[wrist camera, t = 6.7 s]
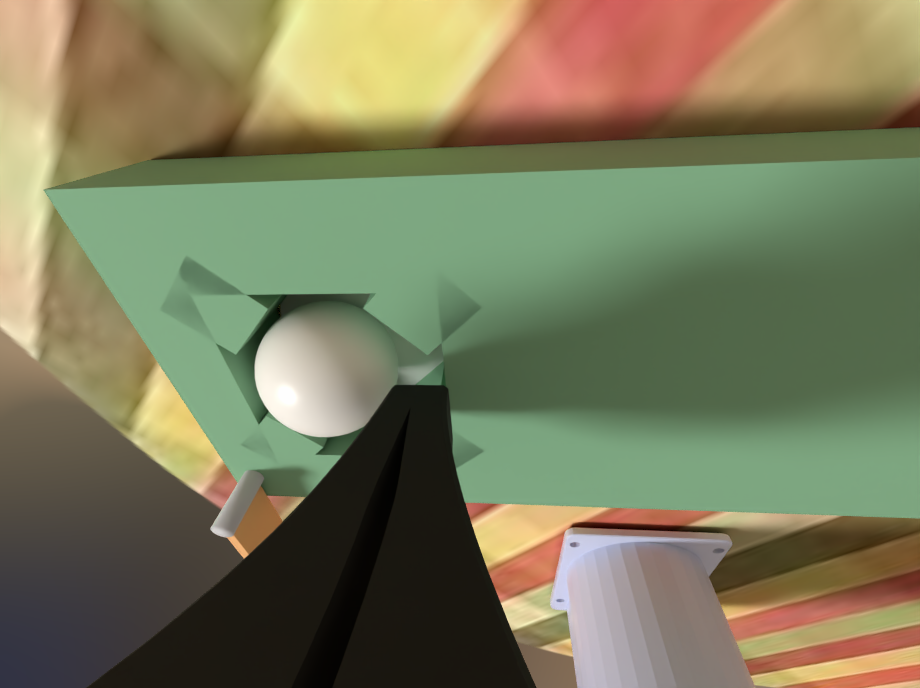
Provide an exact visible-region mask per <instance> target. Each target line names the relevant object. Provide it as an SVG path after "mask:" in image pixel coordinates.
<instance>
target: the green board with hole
mask: <svg viewBox="0 0 920 688" xmlns="http://www.w3.org/2000/svg"><path fill="white" fill-rule="evenodd" d="M44 191H45V193H46V194H47V196H48V197H49V199H50V200H51V202H52V203H53V205H54V206H55V208H56V209H57V211H58V212H59V214H60V215H61V217H62V218H63V220H64V221H65V223H66V224H67V226H68V228H69V229H70V231H71V232H72V234H73V235H74V237H75V238H76V240H77V241H78V243H79V244H80V246H81V247H82V249H83V250H84V252H85V253H86V255H87V256H88V258H89V259H90V261H91V262H92V264H93V265H94V267H95V268H96V270H97V271H98V273H99V274H100V276H101V277H102V279H103V280H104V282H105V283H106V285H107V286H108V288H109V289H110V291H111V292H112V294H113V295H114V297H115V298H116V300H117V301H118V303H119V304H120V306H121V307H122V309H123V311H124V312H125V314H126V315H127V317H128V318H129V320H130V321H131V323H132V324H133V326H134V327H135V329H136V330H137V332H138V333H139V335H140V336H141V338H142V339H143V341H144V342H145V344H146V345H147V347H148V348H149V350H150V351H151V353H152V354H153V356H154V357H155V359H156V360H157V362H158V363H159V365H160V366H161V368H162V369H163V371H164V372H165V374H166V375H167V377H168V378H169V380H170V381H171V383H172V384H173V386H174V387H175V389H176V390H177V392H178V393H179V395H180V397H181V398H182V400H183V401H184V403H185V404H186V406H187V407H188V409H189V410H190V412H191V413H192V415H193V416H194V418H195V419H196V421H197V422H198V424H199V425H200V427H201V428H202V430H203V431H204V433H205V434H206V436H207V437H208V439H209V440H210V442H211V443H212V445H213V446H214V448H215V449H216V451H217V452H218V454H219V455H220V457H221V458H222V460H223V461H224V463H225V464H226V466H227V467H228V469H229V470H230V472H231V473H232V475H233V476H234V478H235V480H236V481H237V483H238V484H237V485H236V487H235V489H234V490H233V492H232V494H231V495H230V497H229V499H228V500H227V502H226V504H225V505H224V507H223V509H222V510H221V512H220V514H219V515H218V517H217V519H216V520H215V522H214V524H213V525H212V527H211V531H212V532H213V533H215V534H217V535H219V536H222V537H227V538H228V539H229V540H230V542H231V543H232V544H233V545H234V547H235V548H236V549H237V550H238V552H239V553H240V554H241V555H242V557H243V558H246V557H247V556H248V555H249V554H250V553H251V552H252V551H253V550H254V549H255V548H256V547H257V546H258V545H259V544H260V543H261V542H262V541H263V540H264V539H266V538H267V537H268V536H269V535H270V534H271V533H272V532H273V531H274V530H275V529H276V528H277V527H278V526H279V525H280V524H281V523H282V522H283V521H282V520H281V518H280V516H279V515H278V513H277V511H276V510H275V508H274V506H273V505H272V503H271V501H270V500H269V498H268V497H267V496H295V497H307V496H308V495H309V493H310V492H311V491H312V490H313V489H314V488H315V487H316V486H317V484H318V483H319V482H320V481H321V480H322V479H323V477H324V476H325V475H326V474H327V473H328V472H329V470H330V469H331V468H332V467H333V466H334V465H335V463H336V462H337V461H338V460H339V459H340V457H341V456H342V455H343V454H344V452H345V451H346V450H347V449H348V447H349V446H350V445H351V443H352V442H353V441H354V440H355V438H356V437H357V436H358V434H359V433H360V432H361V431H362V429H363V428H364V427H365V426H364V427H362V428H360V429H358V430H356V431H354V432H351V433H349V434H345V435H341V436H334V437H315V436H309V435H305V434H301V433H299V432H296V431H294V430H292V429H290V428H288V427H286V426H285V425H283V424H282V423H281V422H279V421H278V420H277V419H276V418H275V417H274V416H273V415H272V414H271V413H270V412H269V411H268V409H267V408H266V407H265V405H264V403H263V401H262V399H261V398H260V396H259V393H258V390H257V387H256V382H255V359H256V354H257V351H258V348H259V345H260V343H261V341H262V339H263V337H264V335H265V334H266V332H267V331H268V330H269V328H270V327H271V326H272V325H273V324H274V323H275V322H276V321H277V320H278V319H279V318H280V316H279V313H278V311H277V307H278V306H279V305H280V314H281V317H282V316H283V315H284V314H286V313H288V312H289V311H291V310H293V309H294V308H297V307H299V306H301V305H305V304H308V303H312V302H318V301H338V302H344V303H348V304H351V305H354V306H356V307H359V308H361V309H363V310H365V311H366V312H368V313H369V314H371V315H372V316H373V317H375V318H376V319H377V320H378V321H379V322H380V323H381V324H382V325H383V326H384V328H385V329H386V330H387V332H388V333H389V335H390V337H391V338H392V341H393V343H394V345H395V349H396V352H397V357H398V378H397V383H396V385H444V386H445V387H447V388H448V389H449V400H450V411H451V422H452V433H453V450H452V452H453V457H454V462H455V466H456V471H457V475H458V479H459V483H460V486H461V490H462V494H463V497H464V501H465V502H467V503H495V504H524V505H553V506H581V507H610V508H638V509H667V510H696V511H724V512H753V513H781V514H810V515H839V516H867V517H896V518H920V127H913V128H889V129H866V130H843V131H819V132H796V133H772V134H749V135H726V136H702V137H679V138H655V139H632V140H609V141H585V142H562V143H538V144H515V145H492V146H468V147H445V148H421V149H398V150H375V151H351V152H328V153H304V154H281V155H258V156H234V157H211V158H187V159H164V160H147V161H144V162H140V163H137V164H133V165H130V166H126V167H122V168H119V169H115V170H112V171H108V172H105V173H101V174H98V175H94V176H91V177H87V178H84V179H80V180H76V181H73V182H69V183H66V184H62V185H59V186H55V187H52V188H48V189H45V190H44Z"/></svg>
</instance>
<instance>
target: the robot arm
mask: <svg viewBox="0 0 920 688" xmlns="http://www.w3.org/2000/svg"><path fill="white" fill-rule="evenodd" d="M452 450H453V433H452V422H451V411H450V400H449V389H448V388H447V387H445V386H444V385H394V386H393V387H392V388H391V390H390V391H389V393H388V394H387V395H386V397H385V398H384V400H383V401H382V403H381V404H380V406H379V407H378V409H377V410H376V411H375V413H374V414H373V416H372V417H371V418H370V420H369V421H368V422H367V424H366V425H365V427H364V428H363V429H362V431H361V432H360V433H359V434H358V436H357V437H356V438H355V440H354V441H353V442H352V443H351V445H350V446H349V447H348V449H347V450H346V451H345V452H344V454H343V455H342V456H341V457H340V459H339V460H338V461H337V462H336V463H335V465H334V466H333V467H332V468H331V469H330V470H329V472H328V473H327V474H326V475H325V476H324V477H323V479H322V480H321V481H320V482H319V483H318V484H317V486H316V487H315V488H314V489H313V490H312V491H311V492H310V493H309V495H308V496H307V497H306V498H305V499H304V500H303V501H302V502H301V503H300V504H299V505H298V506H297V507H296V508H295V510H294V511H293V512H292V513H291V514H290V515H289V516H288V517H287V518H286V519H285V520H284V521H283V522H282V523H281V524H280V525H279V526H278V527H277V528H276V529H275V530H274V531H273V532H272V533H271V534H270V535H269V536H268V537H267V538H266V539H264V540H263V541H262V542H261V543H260V544H259V545H258V546H257V547H256V548H255V549H254V550H253V551H252V552H251V553H250V554H249V555H248V556H247V557H246V558H244V559H243V560H242V561H241V562H240V563H239V564H238V565H237V566H236V567H235V568H234V569H233V570H231V571H230V572H229V573H228V574H227V575H226V576H225V577H223V578H222V579H221V580H220V581H219V582H218V583H217V584H215V585H214V586H213V587H212V588H211V589H210V590H208V591H207V592H206V593H205V594H203V595H202V596H201V597H200V598H199V599H198V600H196V601H195V602H194V603H193V604H192V605H191V606H189V607H188V608H187V609H186V610H184V611H183V612H182V613H181V614H180V615H179V616H177V618H175V619H174V620H173V621H171V622H170V623H169V624H168V625H167V626H165V627H164V628H163V629H162V630H161V631H159V632H158V633H157V634H156V635H154V636H153V637H152V638H151V639H149V640H148V641H147V642H146V643H144V644H143V645H142V646H140V647H139V648H138V649H137V650H135V651H134V652H133V653H131V654H130V655H129V656H127V657H126V658H125V659H123V660H122V661H121V662H119V663H118V664H117V665H116V666H114V667H113V668H112V669H110V670H109V671H108V672H107V673H105V674H104V675H102V676H101V677H100V678H99V679H97V680H96V681H95V682H93V683H92V684H91V685H89V686H88V687H87V688H536V686H535V683H534V681H533V679H532V677H531V674H530V672H529V670H528V668H527V665H526V663H525V661H524V658H523V656H522V654H521V651H520V649H519V647H518V644H517V642H516V640H515V637H514V635H513V633H512V630H511V628H510V626H509V623H508V621H507V618H506V615H505V613H504V610H503V608H502V605H501V603H500V600H499V598H498V595H497V593H496V590H495V588H494V585H493V583H492V580H491V578H490V575H489V573H488V570H487V567H486V564H485V562H484V559H483V556H482V553H481V550H480V547H479V545H478V542H477V539H476V536H475V533H474V530H473V527H472V524H471V521H470V517H469V514H468V511H467V508H466V504H465V501H464V497H463V494H462V490H461V486H460V483H459V479H458V475H457V471H456V466H455V462H454V457H453V452H452ZM732 544H733V543H732V541H731V539H730V537H729V535H726V534H723V533H703V532H678V531H653V530H627V529H602V528H577V527H575V528H569V529H568V530H566V532H565V535H564V540H563V544H562V549H561V553H560V558H559V562H558V567H557V571H556V576H555V581H554V585H553V590H552V594H551V599H550V604H551V607H552V608H553V609H556V610H567V614H568V621H569V628H570V636H571V643H572V650H573V658H574V664H575V672H576V679H577V687H578V688H755V685H754V683H753V680H752V678H751V676H750V673H749V671H748V669H747V666H746V664H745V661H744V659H743V657H742V654H741V652H740V650H739V647H738V645H737V643H736V640H735V638H734V635H733V633H732V631H731V628H730V626H729V624H728V621H727V619H726V616H725V614H724V612H723V609H722V607H721V605H720V602H719V600H718V598H717V595H716V593H715V590H714V588H713V586H712V583H711V581H710V579H709V576H710V575H711V573H712V572H713V571H714V569H715V568H716V567H717V565H718V564H719V563H720V561H721V560H722V559H723V557H724V556H725V555H726V553H727V552H728V551H729V549H730V548H731V547H732Z"/></svg>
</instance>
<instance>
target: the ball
mask: <svg viewBox="0 0 920 688" xmlns="http://www.w3.org/2000/svg"><path fill="white" fill-rule="evenodd" d="M397 378H398V357H397V352H396V349H395V345H394V343H393V341H392V338H391V337H390V335H389V333H388V332H387V330H386V329H385V328H384V326H383V325H382V324H381V323H380V322H379V321H378V320H377V319H376V318H375V317H373V316H372V315H371V314H369V313H368V312H366V311H365V310H363V309H361V308H359V307H356V306H354V305H351V304H348V303H344V302H338V301H318V302H312V303H308V304H305V305H301V306H299V307H297V308H294V309H293V310H291V311H289V312H288V313H286V314H284V315H283V316H282V317H280V318H279V319H278V320H277V321H276V322H275V323H274V324H273V325H272V326H271V327H270V328H269V330H268V331H267V332H266V334H265V335H264V337H263V339H262V341H261V343H260V345H259V348H258V351H257V354H256V359H255V382H256V387H257V390H258V393H259V396H260V398H261V399H262V401H263V403H264V405H265V407H266V408H267V409H268V411H269V412H270V413H271V414H272V415H273V416H274V417H275V418H276V419H277V420H278V421H279V422H281V423H282V424H283V425H285V426H286V427H288V428H290V429H292V430H294V431H296V432H299V433H301V434H305V435H309V436H315V437H334V436H341V435H345V434H349V433H351V432H354V431H356V430H358V429H360V428H362V427H364V426H365V425H366V424H367V422H368V421H369V420H370V418H371V417H372V416H373V414H374V413H375V411H376V410H377V409H378V407H379V406H380V404H381V403H382V401H383V400H384V398H385V397H386V395H387V394H388V393H389V391H390V390H391V388H392V387H393V386H394V385H396V383H397Z"/></svg>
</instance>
